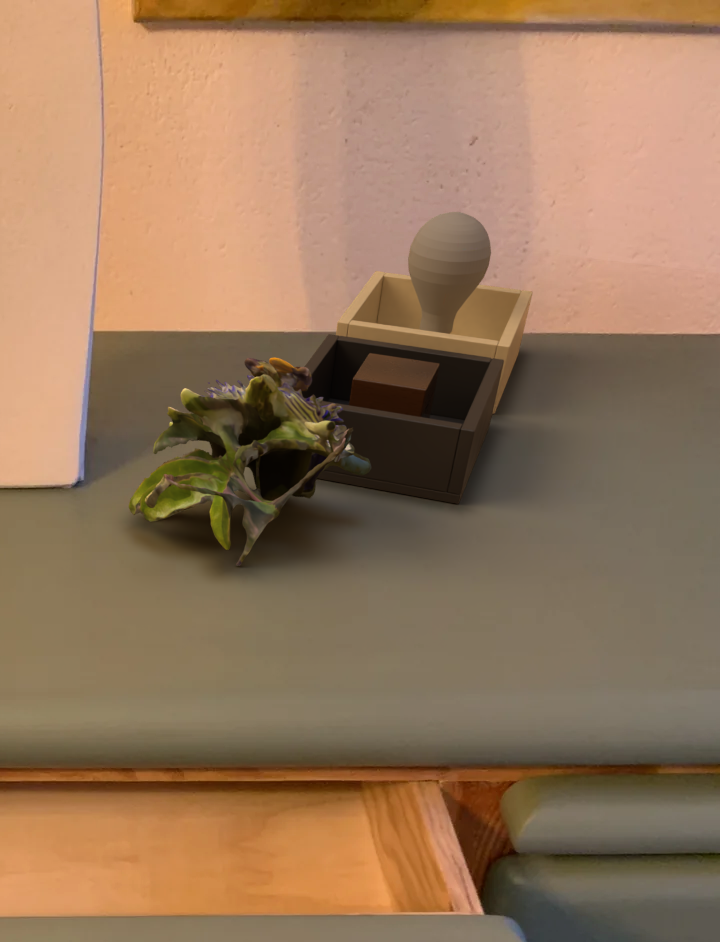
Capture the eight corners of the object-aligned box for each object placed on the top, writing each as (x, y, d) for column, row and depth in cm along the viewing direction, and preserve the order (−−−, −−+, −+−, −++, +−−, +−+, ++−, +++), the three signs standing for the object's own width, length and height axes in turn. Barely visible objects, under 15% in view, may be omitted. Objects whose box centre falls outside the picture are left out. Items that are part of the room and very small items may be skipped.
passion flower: (258, 581, 73) (392, 429, 67) (250, 650, 63) (405, 481, 57) (116, 468, 70) (243, 300, 64) (86, 523, 61) (231, 332, 55)
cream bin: (518, 354, 87) (533, 291, 83) (494, 414, 79) (510, 346, 75) (366, 332, 90) (375, 270, 87) (328, 387, 82) (337, 321, 79)
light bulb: (385, 370, 83) (409, 220, 76) (399, 343, 86) (423, 198, 80) (462, 381, 81) (493, 229, 75) (473, 353, 85) (503, 206, 78)
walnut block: (413, 460, 72) (426, 389, 69) (342, 448, 73) (352, 378, 70) (426, 431, 75) (440, 363, 72) (359, 420, 76) (369, 352, 73)
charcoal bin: (489, 428, 77) (504, 359, 74) (458, 504, 69) (474, 431, 66) (320, 400, 80) (328, 333, 77) (272, 470, 72) (279, 399, 69)
